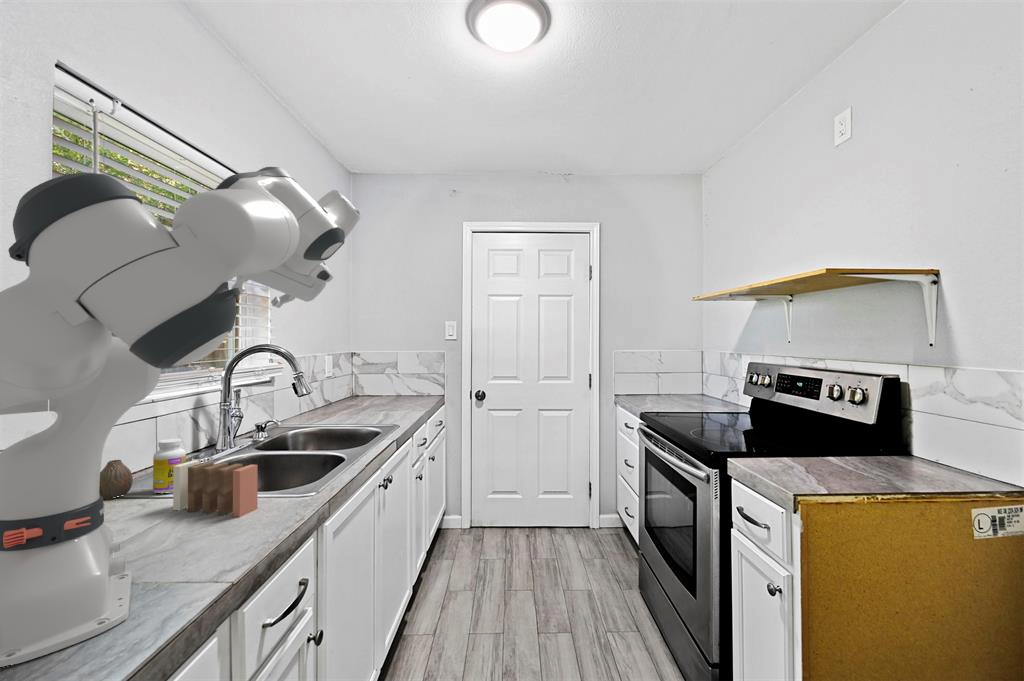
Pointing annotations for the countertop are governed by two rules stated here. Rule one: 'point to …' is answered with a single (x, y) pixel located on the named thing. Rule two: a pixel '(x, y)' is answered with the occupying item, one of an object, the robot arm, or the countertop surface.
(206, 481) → the tile
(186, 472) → the tile
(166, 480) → the supplement bottle
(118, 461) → the vase
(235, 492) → the end tile
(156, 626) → the countertop surface
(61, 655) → the countertop surface
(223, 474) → the tile
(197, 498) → the tile
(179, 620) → the countertop surface
